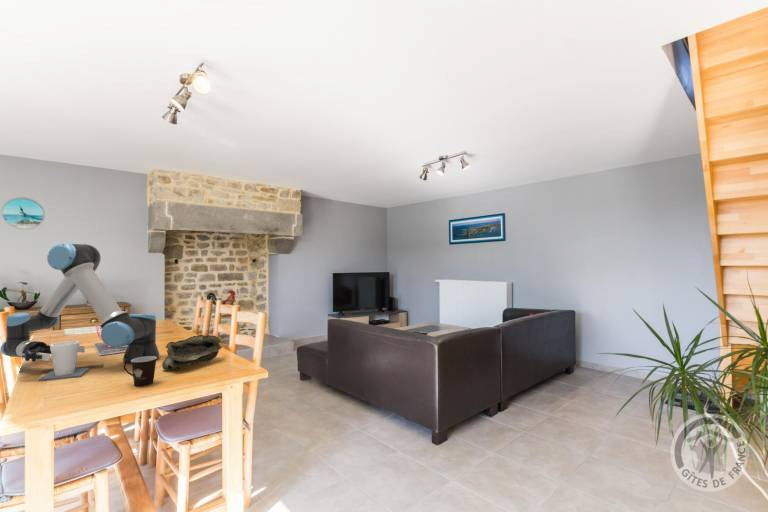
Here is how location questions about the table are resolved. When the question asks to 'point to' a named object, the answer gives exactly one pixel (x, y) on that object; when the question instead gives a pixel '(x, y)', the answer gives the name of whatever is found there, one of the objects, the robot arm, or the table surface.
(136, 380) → the coffee mug
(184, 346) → the hollow geode rock
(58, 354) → the foam cup
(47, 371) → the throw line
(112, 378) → the table surface
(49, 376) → the mat
